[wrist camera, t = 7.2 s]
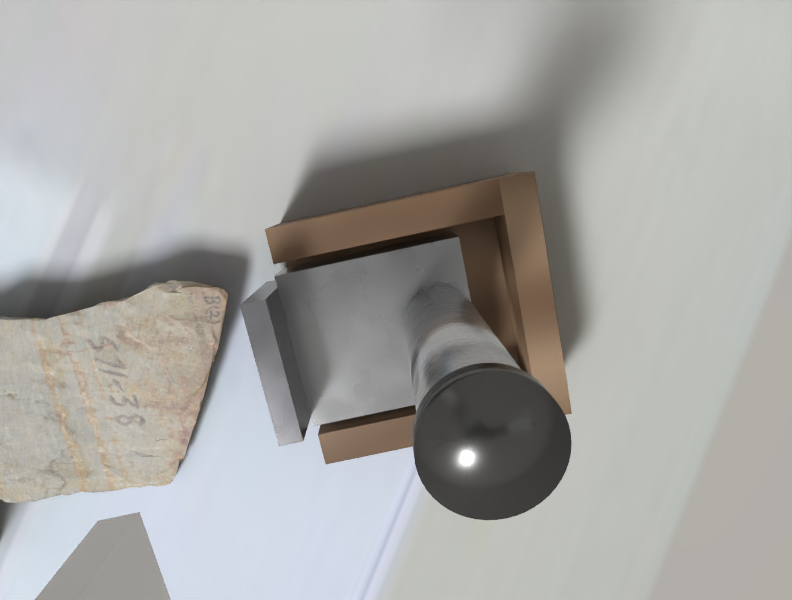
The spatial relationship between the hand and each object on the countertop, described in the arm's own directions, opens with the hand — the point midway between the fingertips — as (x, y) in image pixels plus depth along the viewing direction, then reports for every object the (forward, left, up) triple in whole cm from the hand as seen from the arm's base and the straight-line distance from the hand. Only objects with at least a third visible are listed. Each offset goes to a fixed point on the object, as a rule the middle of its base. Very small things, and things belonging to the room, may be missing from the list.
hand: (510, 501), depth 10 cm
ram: (0, -3, -17) cm, 17 cm away
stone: (0, -18, -19) cm, 26 cm away
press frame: (0, -1, -18) cm, 18 cm away
